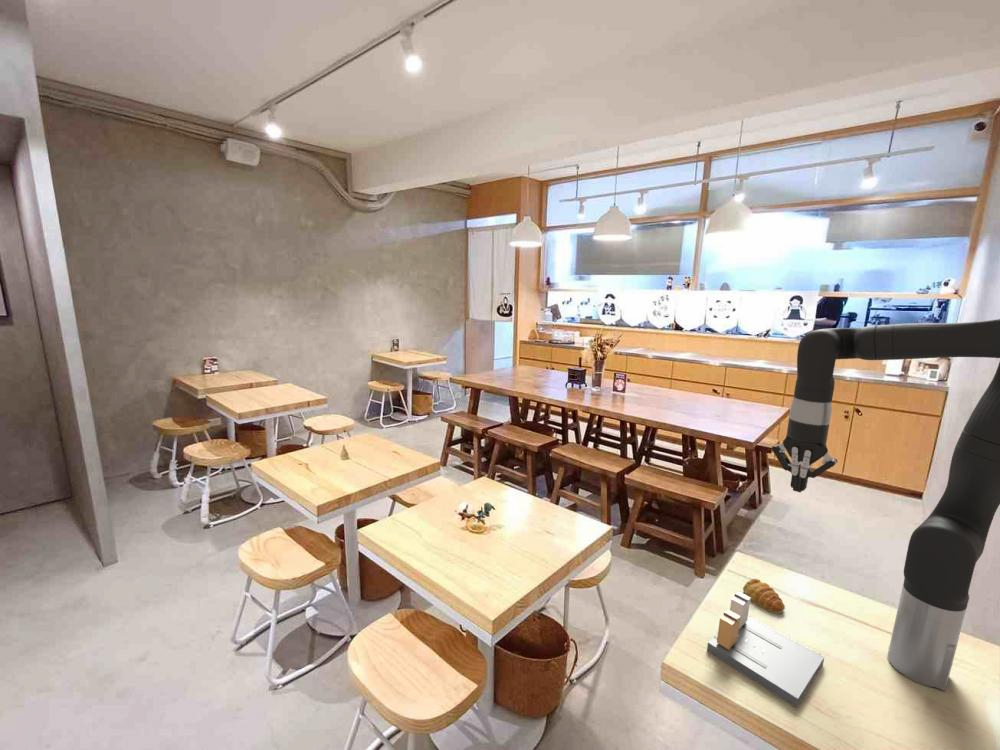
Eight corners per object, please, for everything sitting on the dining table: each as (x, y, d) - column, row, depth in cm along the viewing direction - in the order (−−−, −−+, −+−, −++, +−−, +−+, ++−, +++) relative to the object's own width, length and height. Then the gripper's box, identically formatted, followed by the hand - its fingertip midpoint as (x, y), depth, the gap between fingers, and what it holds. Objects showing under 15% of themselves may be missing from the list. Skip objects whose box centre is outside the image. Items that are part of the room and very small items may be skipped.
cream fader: (747, 620, 102) (751, 595, 101) (739, 628, 99) (743, 603, 98) (735, 614, 104) (739, 589, 103) (727, 622, 101) (731, 597, 100)
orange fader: (737, 640, 96) (741, 614, 95) (728, 649, 94) (732, 623, 92) (725, 633, 98) (728, 607, 97) (716, 642, 95) (720, 615, 94)
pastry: (791, 612, 109) (793, 598, 108) (770, 618, 107) (772, 604, 106) (759, 588, 117) (761, 575, 117) (738, 592, 115) (740, 579, 115)
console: (822, 665, 93) (824, 656, 93) (796, 707, 83) (798, 698, 83) (738, 618, 106) (739, 610, 106) (706, 650, 96) (708, 641, 96)
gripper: (850, 422, 97) (836, 496, 101) (782, 409, 107) (772, 477, 110) (840, 429, 92) (826, 506, 96) (770, 414, 102) (760, 485, 106)
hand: (797, 490), depth 103 cm, fingers closed
